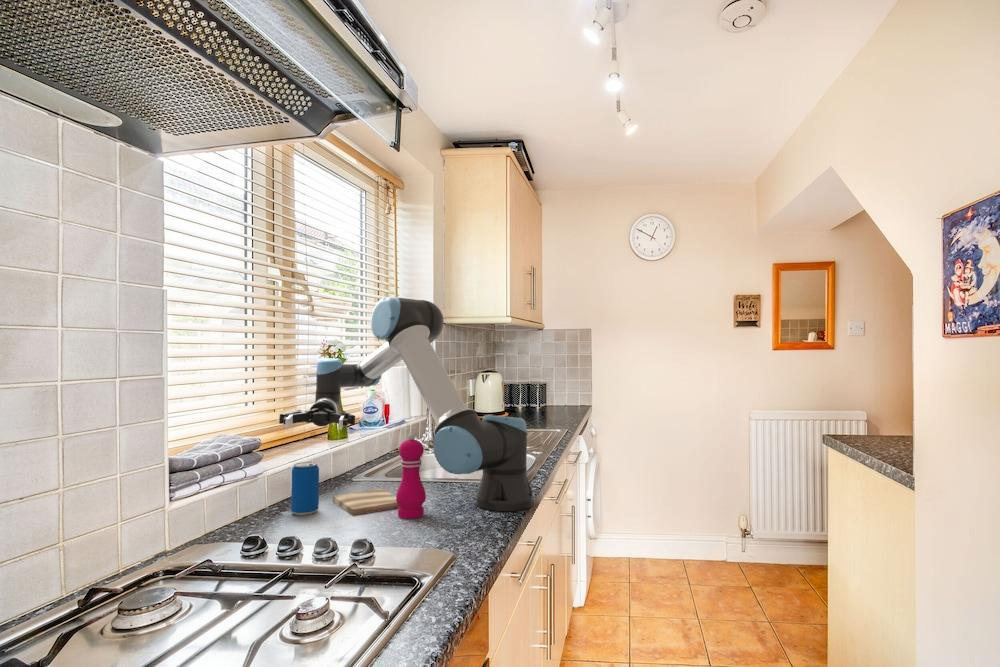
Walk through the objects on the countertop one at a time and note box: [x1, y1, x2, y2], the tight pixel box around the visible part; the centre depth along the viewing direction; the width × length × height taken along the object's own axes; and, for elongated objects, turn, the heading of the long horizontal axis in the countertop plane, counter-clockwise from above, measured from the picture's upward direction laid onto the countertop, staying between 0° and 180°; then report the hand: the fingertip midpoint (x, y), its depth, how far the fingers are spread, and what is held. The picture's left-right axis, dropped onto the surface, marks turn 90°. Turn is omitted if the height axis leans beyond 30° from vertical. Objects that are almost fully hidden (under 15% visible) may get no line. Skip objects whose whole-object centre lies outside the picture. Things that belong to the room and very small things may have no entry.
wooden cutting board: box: [332, 488, 400, 516], centre depth 147 cm, size 16×14×2 cm
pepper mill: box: [395, 433, 427, 520], centre depth 137 cm, size 7×7×20 cm
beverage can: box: [290, 461, 320, 516], centre depth 139 cm, size 6×6×12 cm
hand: (313, 424), depth 148 cm, fingers open, 13 cm apart
